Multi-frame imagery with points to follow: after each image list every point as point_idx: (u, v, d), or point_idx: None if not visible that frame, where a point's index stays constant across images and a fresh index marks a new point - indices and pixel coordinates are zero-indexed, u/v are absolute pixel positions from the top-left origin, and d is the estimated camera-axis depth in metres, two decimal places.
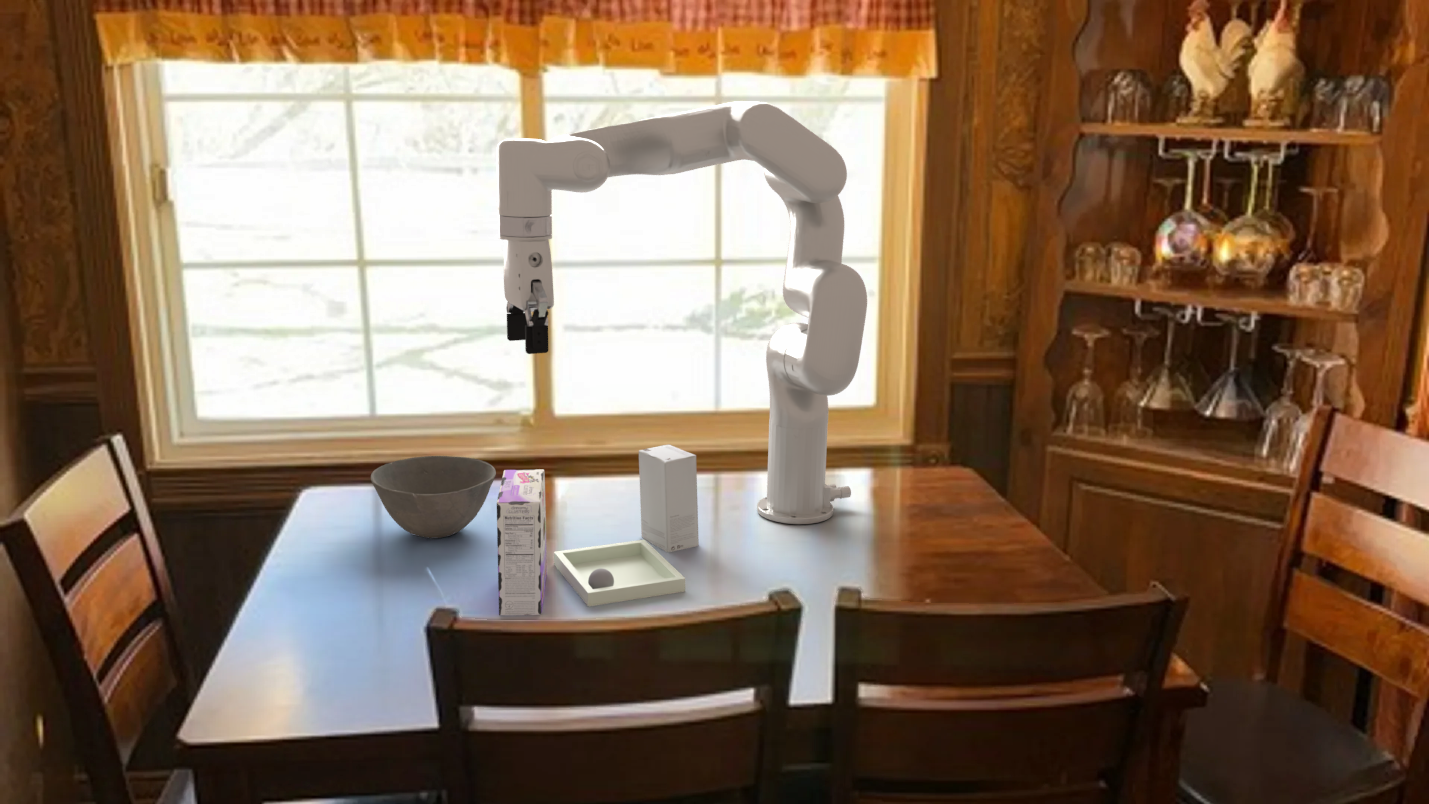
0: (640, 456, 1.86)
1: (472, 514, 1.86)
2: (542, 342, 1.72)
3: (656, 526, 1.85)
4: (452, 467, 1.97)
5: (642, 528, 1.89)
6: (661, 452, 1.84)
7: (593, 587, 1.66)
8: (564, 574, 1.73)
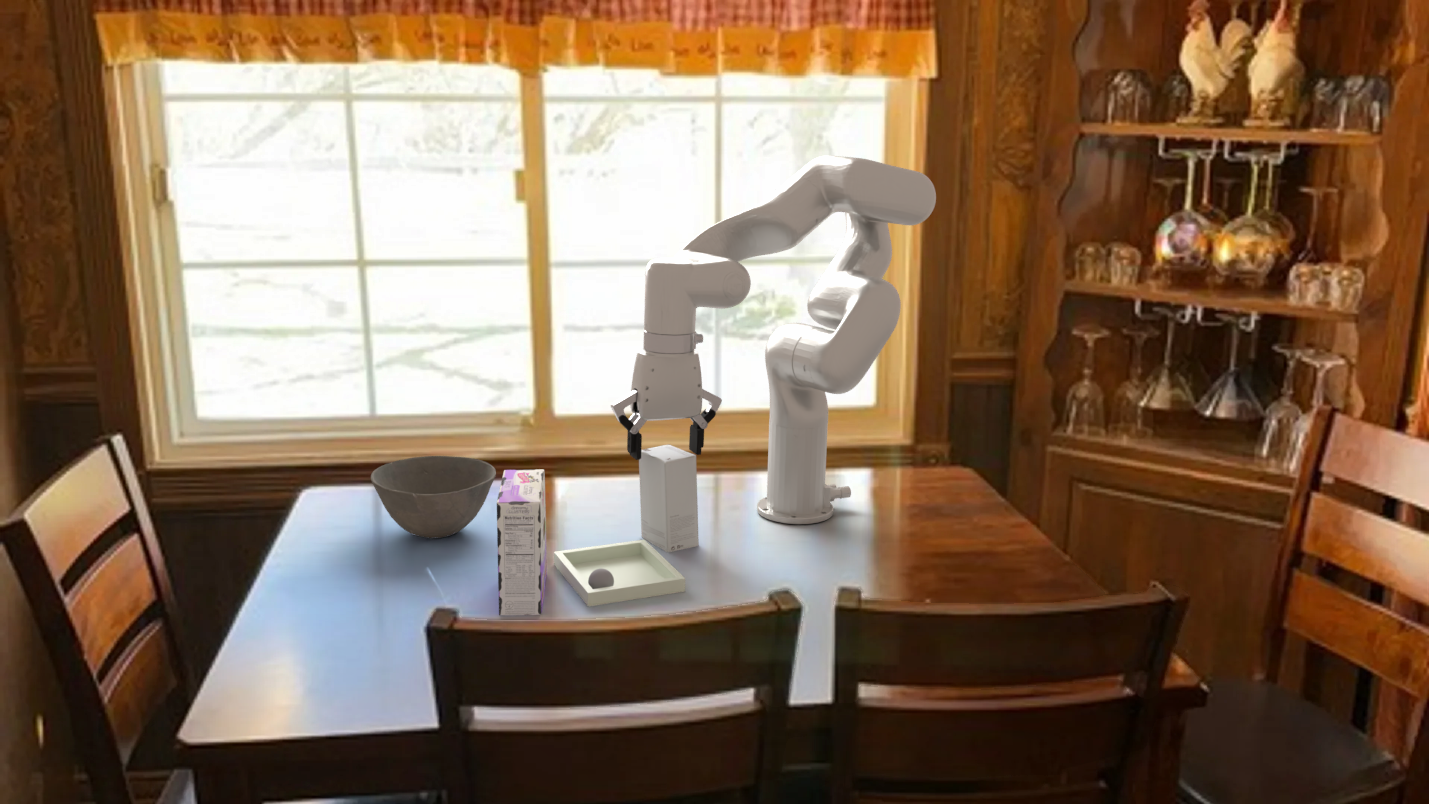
0: None
1: (472, 514, 1.86)
2: None
3: (656, 526, 1.85)
4: (452, 467, 1.97)
5: (642, 528, 1.89)
6: (661, 452, 1.85)
7: (593, 587, 1.66)
8: (564, 574, 1.73)
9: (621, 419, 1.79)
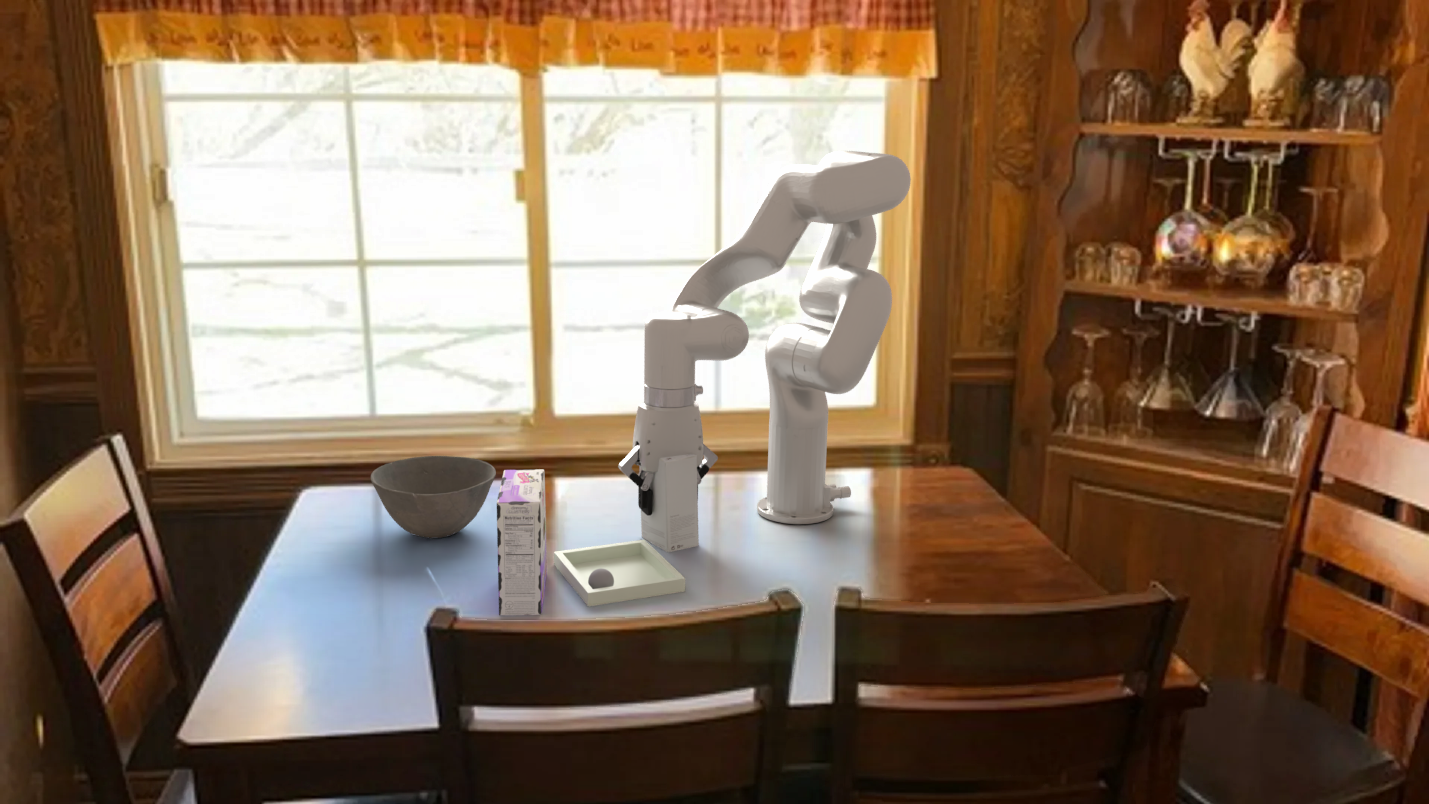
0: None
1: (472, 514, 1.86)
2: None
3: (656, 526, 1.85)
4: (452, 467, 1.97)
5: (642, 528, 1.89)
6: None
7: (593, 587, 1.66)
8: (564, 574, 1.73)
9: (632, 477, 1.82)
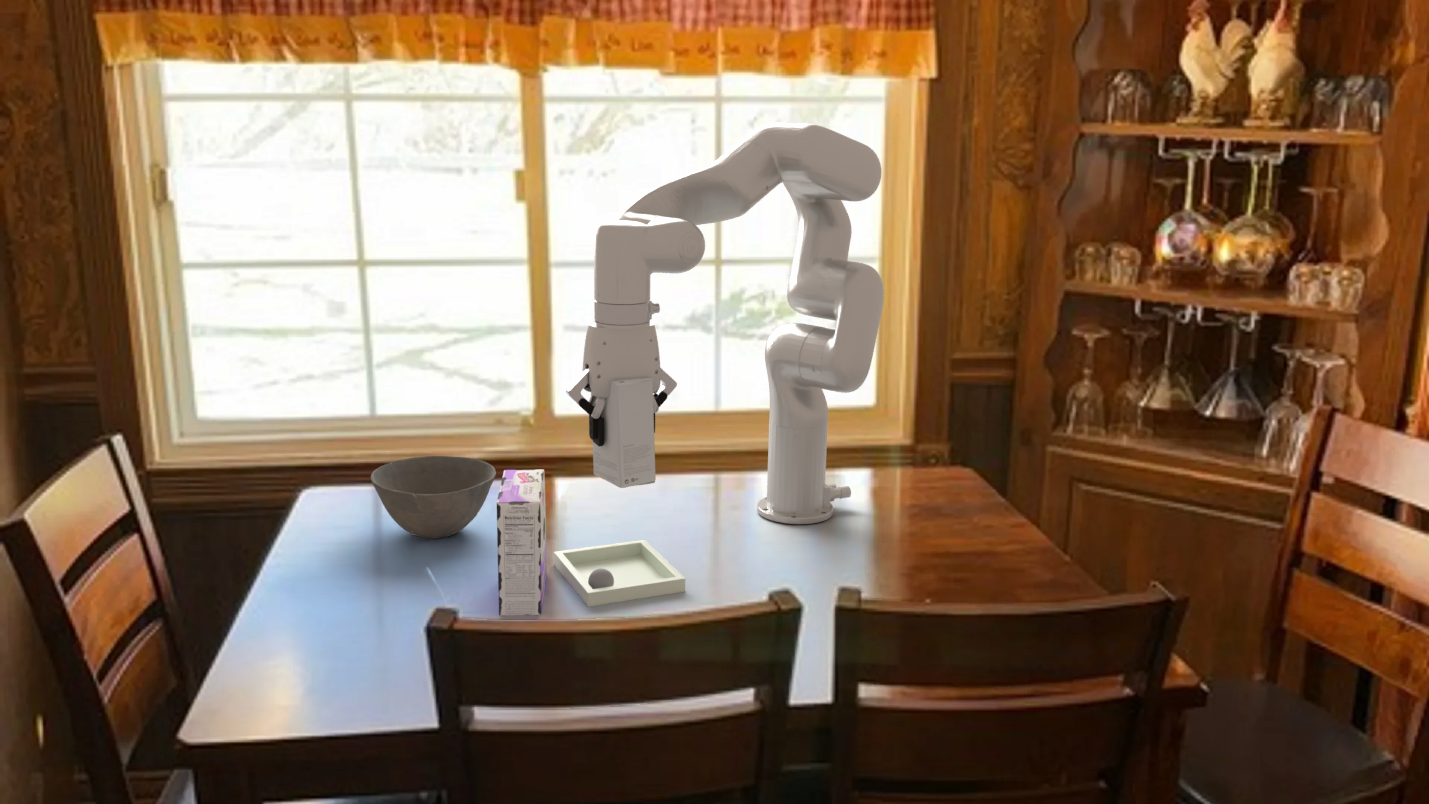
0: None
1: (472, 514, 1.86)
2: None
3: (608, 458, 1.68)
4: (452, 467, 1.97)
5: (594, 461, 1.72)
6: None
7: (593, 587, 1.66)
8: (564, 574, 1.73)
9: (581, 403, 1.65)
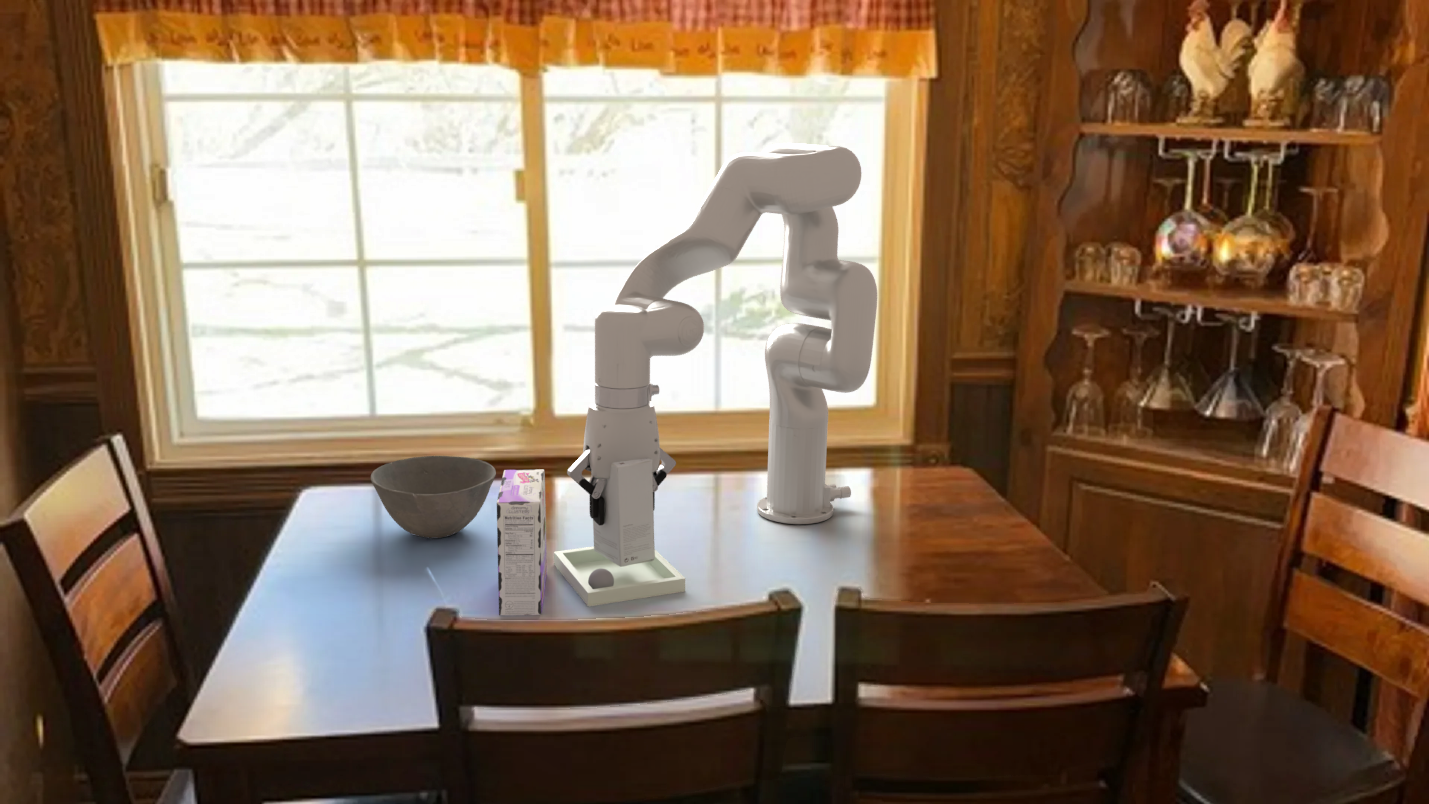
0: None
1: (472, 514, 1.86)
2: None
3: (608, 536, 1.71)
4: (452, 467, 1.96)
5: (594, 538, 1.75)
6: None
7: (593, 587, 1.66)
8: (564, 574, 1.73)
9: (582, 483, 1.68)
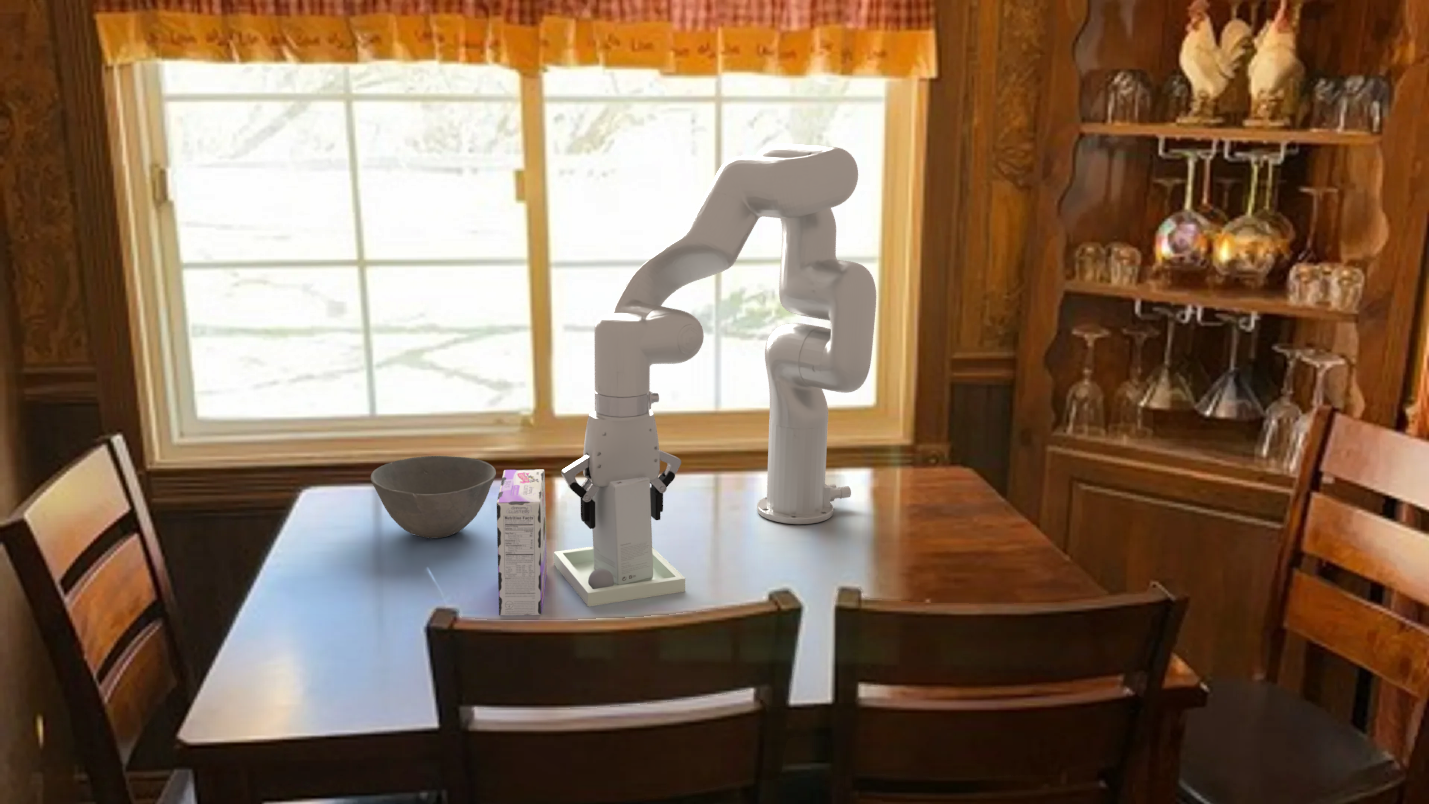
0: None
1: (472, 514, 1.86)
2: None
3: (606, 554, 1.72)
4: (452, 467, 1.97)
5: (594, 556, 1.76)
6: None
7: (593, 587, 1.66)
8: (564, 574, 1.73)
9: (572, 487, 1.68)
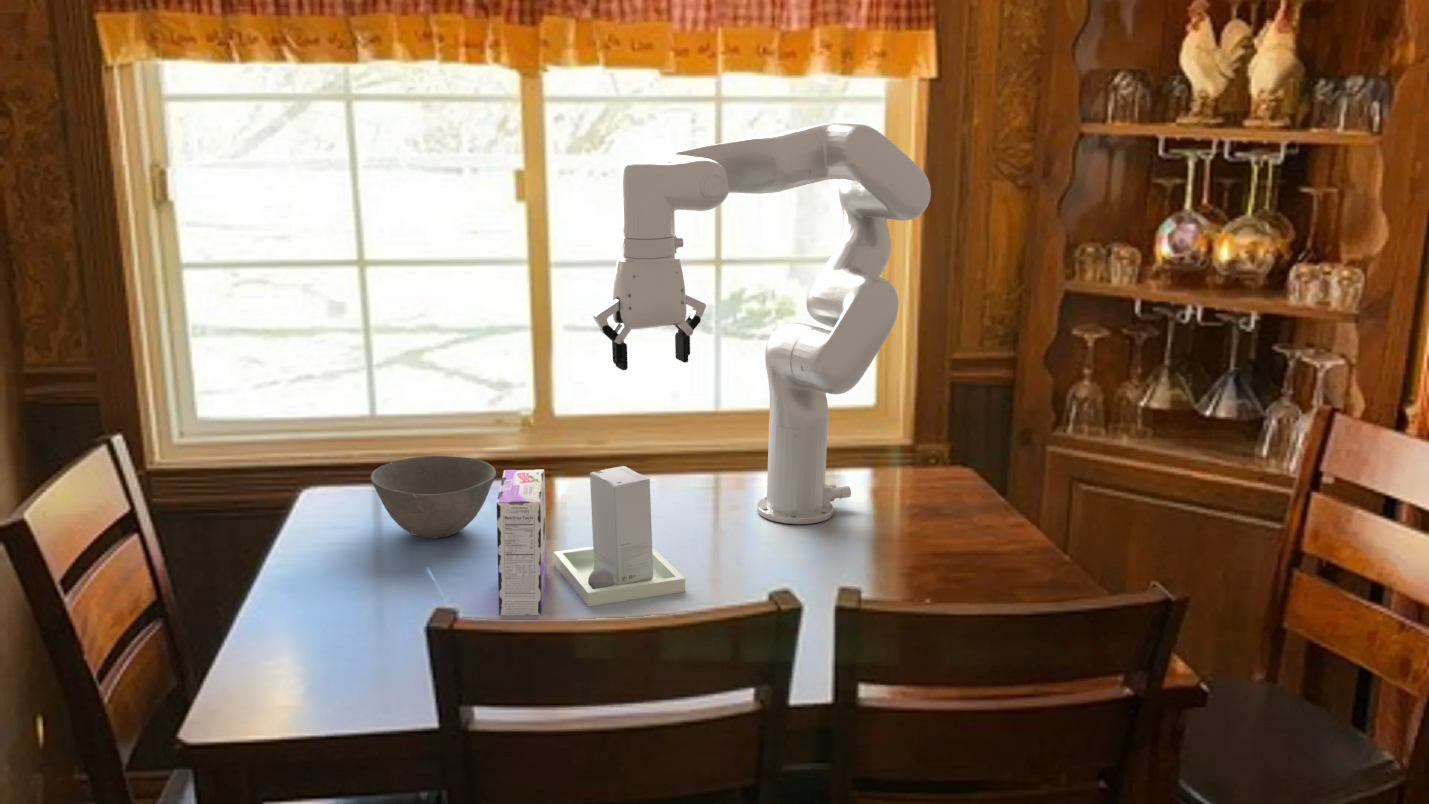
0: (591, 478, 1.73)
1: (472, 514, 1.86)
2: None
3: (606, 554, 1.72)
4: (452, 467, 1.97)
5: (594, 556, 1.76)
6: (613, 474, 1.71)
7: (593, 587, 1.66)
8: (564, 574, 1.73)
9: (605, 329, 1.75)
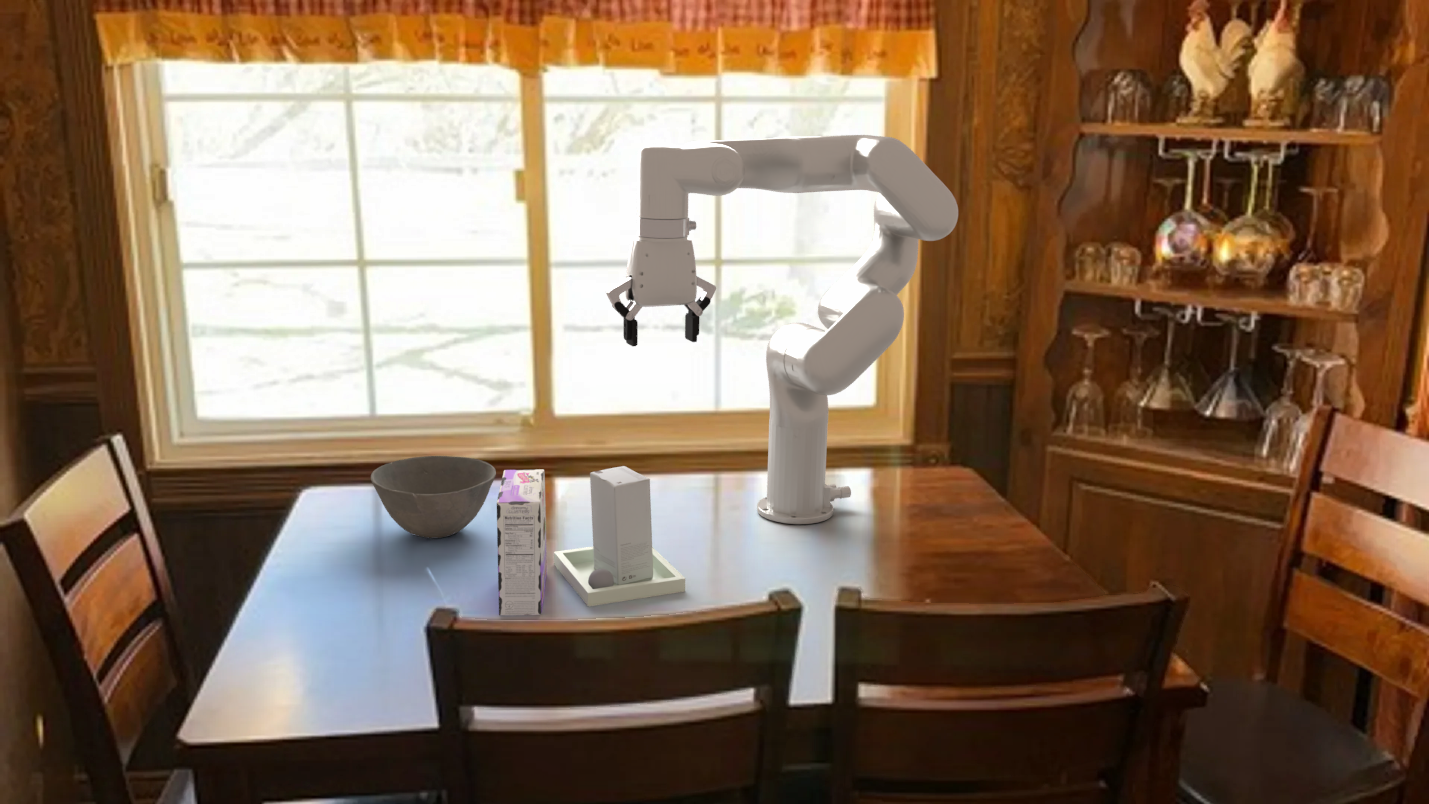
0: (591, 478, 1.73)
1: (472, 514, 1.86)
2: None
3: (606, 554, 1.72)
4: (452, 467, 1.97)
5: (594, 556, 1.76)
6: (613, 474, 1.71)
7: (593, 587, 1.66)
8: (564, 574, 1.73)
9: (617, 305, 1.81)
